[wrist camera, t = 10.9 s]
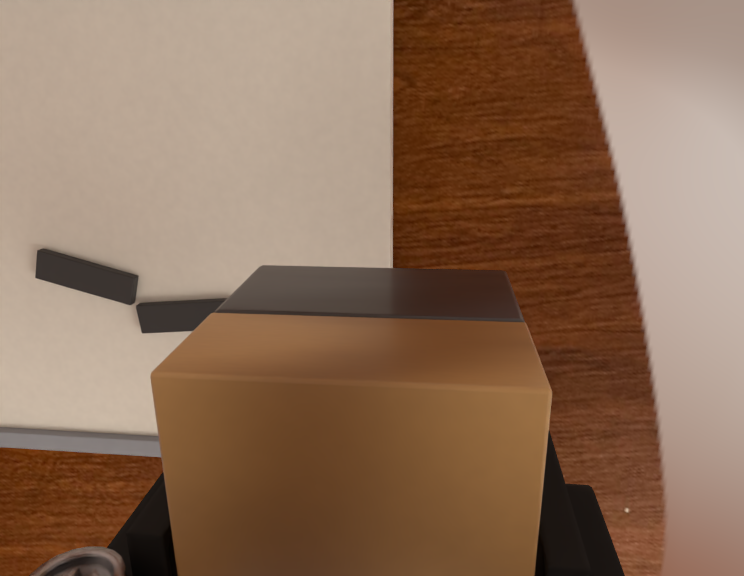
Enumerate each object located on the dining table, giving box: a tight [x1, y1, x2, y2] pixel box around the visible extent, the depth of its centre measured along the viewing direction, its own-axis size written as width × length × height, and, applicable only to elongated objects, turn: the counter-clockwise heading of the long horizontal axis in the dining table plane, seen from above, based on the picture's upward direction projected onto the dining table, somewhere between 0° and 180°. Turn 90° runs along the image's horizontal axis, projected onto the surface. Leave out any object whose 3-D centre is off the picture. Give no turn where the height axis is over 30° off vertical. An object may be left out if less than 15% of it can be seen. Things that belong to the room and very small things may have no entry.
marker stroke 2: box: [136, 298, 227, 333], centre depth 24 cm, size 4×1×1 cm, turn 96°
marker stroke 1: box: [35, 248, 139, 305], centre depth 24 cm, size 4×1×1 cm, turn 76°
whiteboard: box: [0, 0, 393, 457], centre depth 23 cm, size 18×19×1 cm
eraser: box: [150, 265, 552, 576], centre depth 10 cm, size 4×8×4 cm, turn 1°
